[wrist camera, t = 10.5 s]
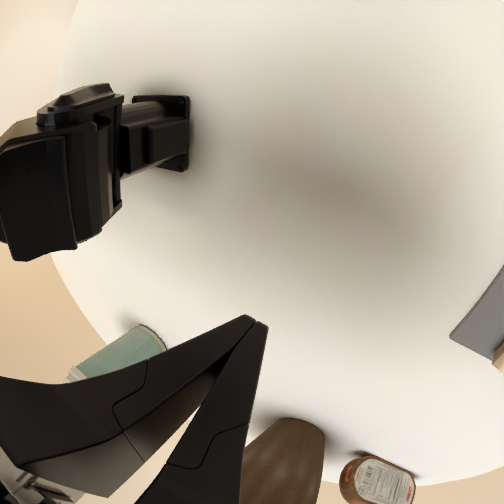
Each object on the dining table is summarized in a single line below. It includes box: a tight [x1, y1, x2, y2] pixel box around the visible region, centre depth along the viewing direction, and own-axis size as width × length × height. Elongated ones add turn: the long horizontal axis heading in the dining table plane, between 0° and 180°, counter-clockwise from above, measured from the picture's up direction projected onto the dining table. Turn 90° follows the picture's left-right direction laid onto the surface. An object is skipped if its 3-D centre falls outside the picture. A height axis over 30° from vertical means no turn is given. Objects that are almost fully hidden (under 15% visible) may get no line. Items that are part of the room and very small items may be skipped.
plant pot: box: [240, 418, 324, 504], centre depth 30 cm, size 15×15×16 cm
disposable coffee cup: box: [65, 325, 166, 383], centre depth 37 cm, size 11×11×15 cm
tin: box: [339, 456, 416, 504], centre depth 29 cm, size 15×3×8 cm, turn 65°
